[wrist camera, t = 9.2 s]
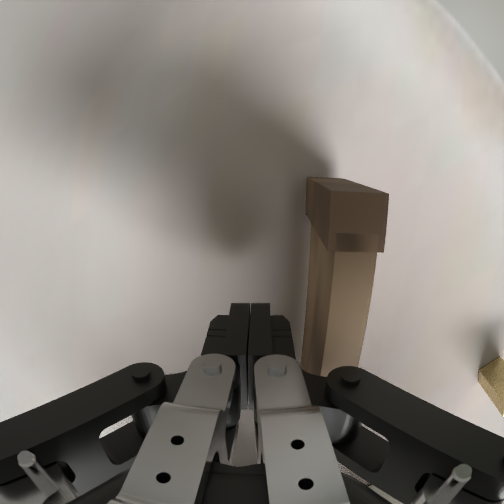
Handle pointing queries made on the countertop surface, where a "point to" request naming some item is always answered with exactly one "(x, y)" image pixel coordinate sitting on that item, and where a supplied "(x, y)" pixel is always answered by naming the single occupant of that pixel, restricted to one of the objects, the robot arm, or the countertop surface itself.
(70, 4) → the countertop surface
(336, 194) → the wooden block
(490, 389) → the block
